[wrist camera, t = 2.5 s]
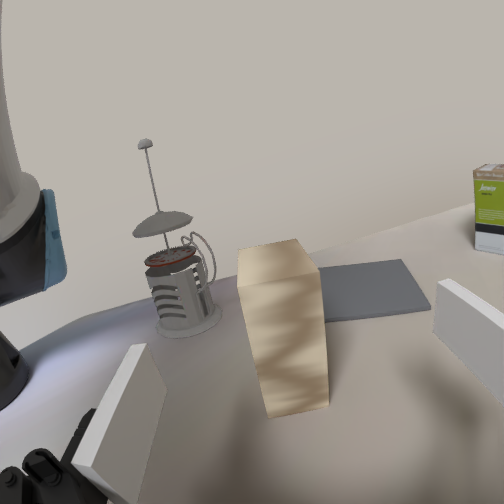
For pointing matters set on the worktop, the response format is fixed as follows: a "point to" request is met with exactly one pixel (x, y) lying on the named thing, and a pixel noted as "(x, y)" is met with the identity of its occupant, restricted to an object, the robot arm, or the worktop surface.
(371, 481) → the worktop surface
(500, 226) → the tea box
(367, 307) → the mat
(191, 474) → the worktop surface
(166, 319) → the french press
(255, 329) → the birch block
